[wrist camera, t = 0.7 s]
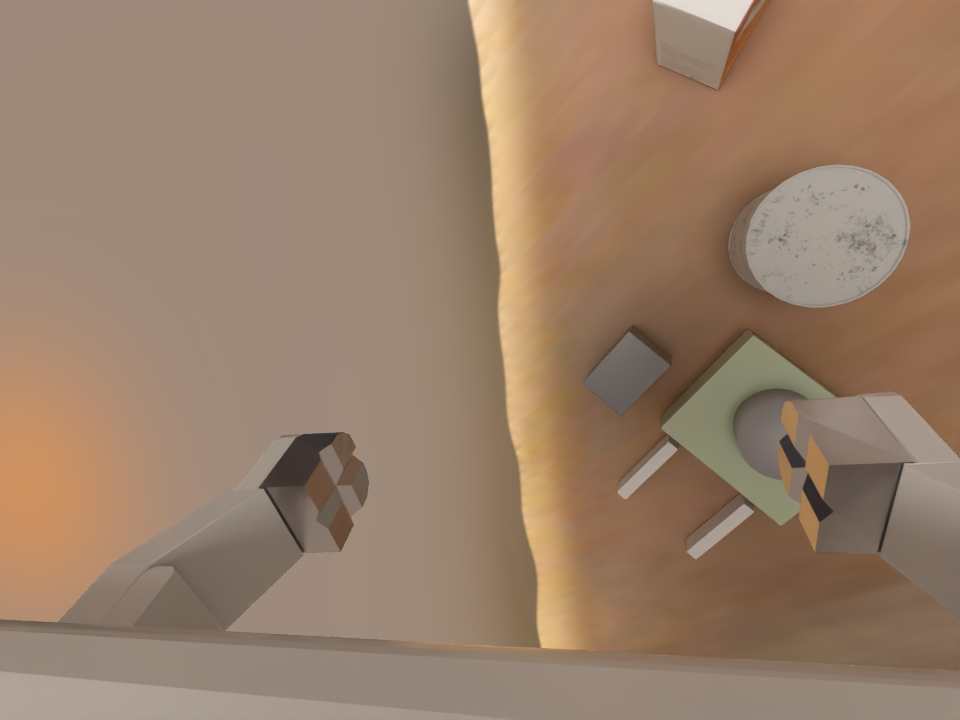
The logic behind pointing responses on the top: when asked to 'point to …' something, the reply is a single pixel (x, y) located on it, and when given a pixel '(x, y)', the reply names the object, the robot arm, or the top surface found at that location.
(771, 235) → the grey concrete cylinder
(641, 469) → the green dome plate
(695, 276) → the top surface
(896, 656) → the top surface
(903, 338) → the top surface
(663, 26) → the small box
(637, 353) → the dark grey box
